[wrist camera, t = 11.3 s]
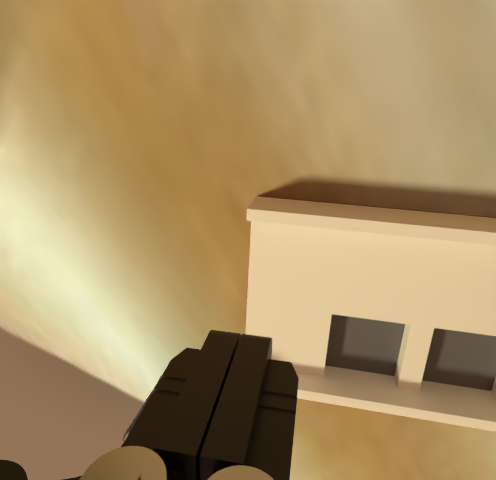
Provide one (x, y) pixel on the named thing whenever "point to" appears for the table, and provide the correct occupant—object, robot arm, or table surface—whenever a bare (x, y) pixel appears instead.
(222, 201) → the table surface
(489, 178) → the table surface
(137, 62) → the table surface
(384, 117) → the table surface
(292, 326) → the track
